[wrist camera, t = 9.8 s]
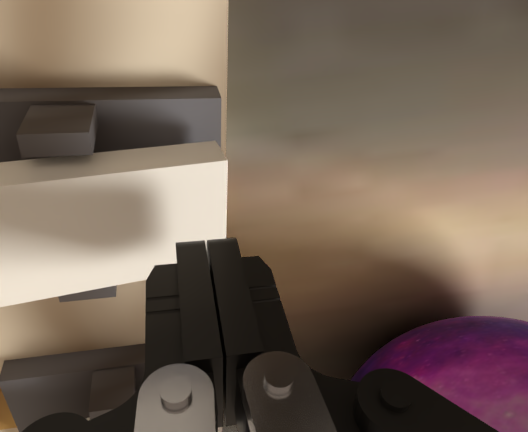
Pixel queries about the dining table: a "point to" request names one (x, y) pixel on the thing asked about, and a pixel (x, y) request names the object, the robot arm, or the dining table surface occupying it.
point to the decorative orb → (467, 365)
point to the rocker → (105, 216)
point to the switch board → (86, 143)
